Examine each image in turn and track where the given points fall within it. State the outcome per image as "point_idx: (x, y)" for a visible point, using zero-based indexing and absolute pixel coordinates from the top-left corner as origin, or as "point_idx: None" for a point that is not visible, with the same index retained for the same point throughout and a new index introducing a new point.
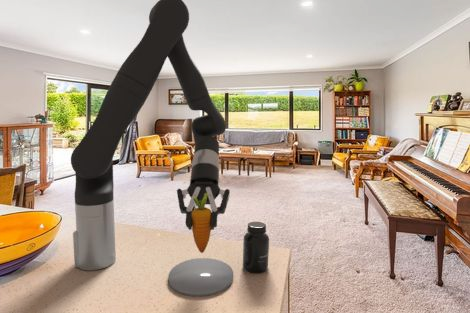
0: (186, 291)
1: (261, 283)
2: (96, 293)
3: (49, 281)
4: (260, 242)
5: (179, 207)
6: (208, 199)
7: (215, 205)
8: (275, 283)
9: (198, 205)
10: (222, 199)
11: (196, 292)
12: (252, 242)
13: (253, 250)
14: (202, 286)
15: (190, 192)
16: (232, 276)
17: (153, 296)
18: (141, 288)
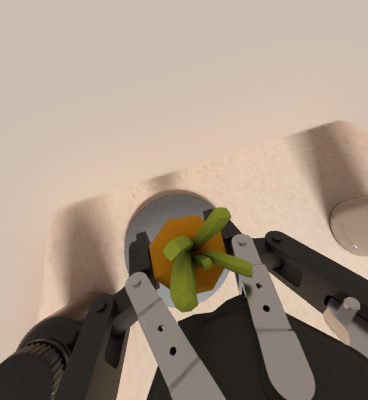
0: (179, 195)
1: (77, 265)
2: (285, 164)
3: (359, 166)
4: (38, 323)
5: (283, 233)
6: (182, 329)
7: (135, 303)
8: (52, 274)
9: (198, 233)
10: (93, 362)
11: (164, 197)
12: (61, 316)
13: (70, 307)
14: (162, 212)
15: (321, 335)
16: (125, 256)
17: (217, 181)
18: (243, 190)
